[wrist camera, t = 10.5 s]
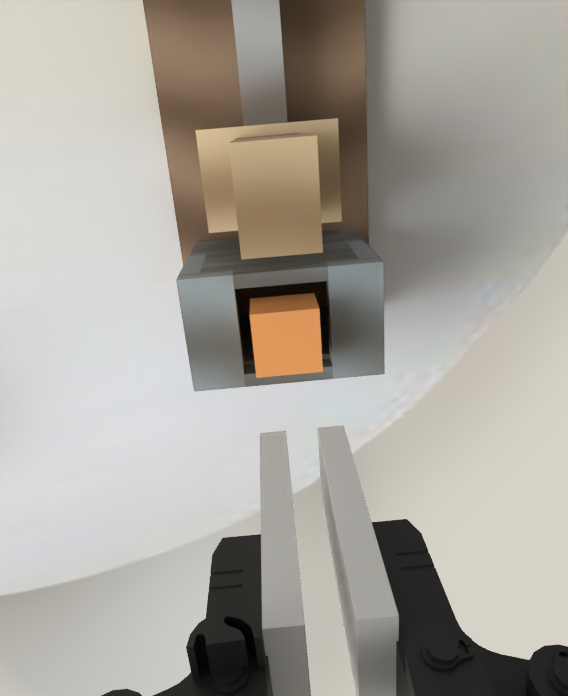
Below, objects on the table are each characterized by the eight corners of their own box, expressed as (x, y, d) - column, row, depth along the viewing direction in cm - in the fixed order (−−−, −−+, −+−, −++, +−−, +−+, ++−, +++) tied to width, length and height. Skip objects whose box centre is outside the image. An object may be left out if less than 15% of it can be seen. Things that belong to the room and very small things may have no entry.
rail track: (125, -147, 28) (47, -309, 17) (356, -166, 28) (413, -335, 18) (196, 324, 38) (173, 398, 27) (365, 309, 38) (406, 377, 28)
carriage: (204, 129, 31) (166, 131, 18) (325, 119, 31) (375, 114, 18) (215, 217, 33) (188, 277, 20) (329, 207, 33) (377, 261, 20)
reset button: (250, 298, 27) (249, 314, 24) (313, 292, 27) (319, 308, 24) (256, 357, 28) (256, 377, 26) (317, 351, 28) (323, 372, 26)
